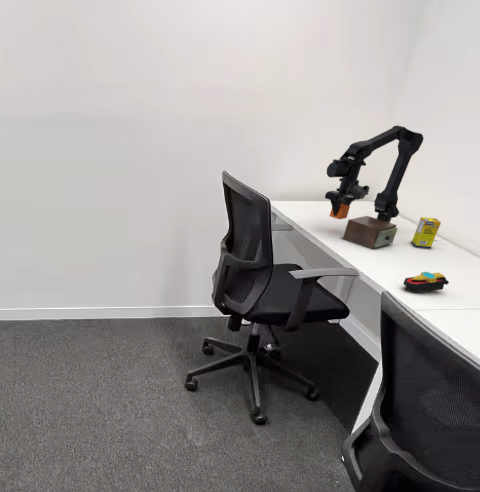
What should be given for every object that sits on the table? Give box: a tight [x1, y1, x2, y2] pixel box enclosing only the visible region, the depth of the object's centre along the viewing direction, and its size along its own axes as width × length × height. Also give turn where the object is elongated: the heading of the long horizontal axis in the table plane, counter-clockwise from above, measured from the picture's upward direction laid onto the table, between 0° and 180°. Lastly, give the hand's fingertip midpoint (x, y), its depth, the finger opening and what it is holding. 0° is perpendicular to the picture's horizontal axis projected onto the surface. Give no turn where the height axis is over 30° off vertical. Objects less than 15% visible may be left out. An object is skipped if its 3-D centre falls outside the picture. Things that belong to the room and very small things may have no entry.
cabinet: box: [342, 215, 397, 250], centre depth 225 cm, size 14×13×8 cm
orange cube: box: [329, 204, 351, 220], centre depth 233 cm, size 5×5×5 cm
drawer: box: [374, 226, 398, 248], centre depth 224 cm, size 14×11×6 cm
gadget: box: [403, 271, 450, 293], centre depth 185 cm, size 6×13×6 cm, turn 95°
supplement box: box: [410, 216, 442, 249], centre depth 223 cm, size 6×6×11 cm
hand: (338, 214), depth 233 cm, fingers closed on orange cube, 5 cm apart
